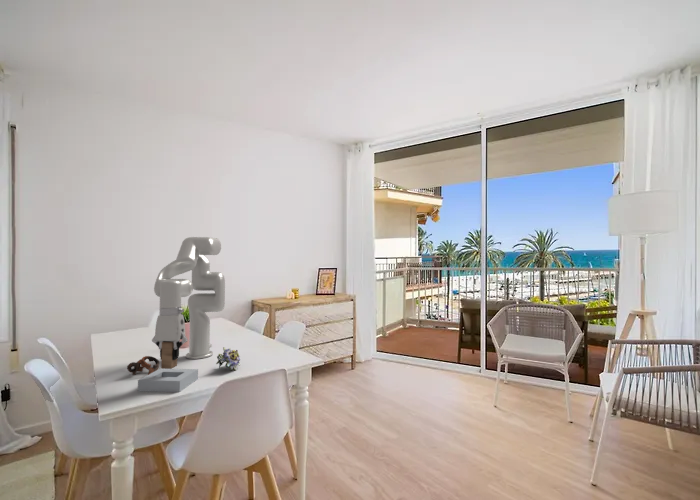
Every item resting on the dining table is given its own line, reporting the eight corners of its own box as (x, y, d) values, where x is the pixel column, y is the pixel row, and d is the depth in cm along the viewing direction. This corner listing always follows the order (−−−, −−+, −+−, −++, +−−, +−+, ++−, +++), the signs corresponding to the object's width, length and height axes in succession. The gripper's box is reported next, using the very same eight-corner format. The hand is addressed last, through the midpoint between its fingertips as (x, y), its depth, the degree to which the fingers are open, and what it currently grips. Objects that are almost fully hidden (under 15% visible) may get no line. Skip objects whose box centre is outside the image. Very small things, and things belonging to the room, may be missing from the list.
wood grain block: (167, 365, 138) (167, 340, 139) (177, 365, 138) (177, 340, 138) (161, 368, 134) (161, 342, 135) (171, 368, 134) (171, 342, 134)
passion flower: (234, 382, 154) (232, 365, 147) (211, 377, 155) (208, 359, 148) (245, 362, 163) (243, 344, 157) (223, 357, 164) (220, 340, 158)
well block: (160, 378, 143) (160, 368, 144) (197, 378, 143) (198, 369, 143) (137, 391, 130) (137, 380, 130) (179, 391, 129) (179, 380, 129)
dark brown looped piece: (147, 370, 156) (156, 354, 156) (155, 383, 151) (165, 367, 151) (119, 370, 146) (129, 353, 146) (127, 384, 141) (137, 367, 141)
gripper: (195, 310, 140) (195, 356, 140) (155, 310, 141) (154, 356, 140) (186, 313, 133) (185, 361, 132) (143, 313, 134) (142, 361, 133)
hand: (169, 358), depth 136 cm, fingers closed on wood grain block, 4 cm apart
